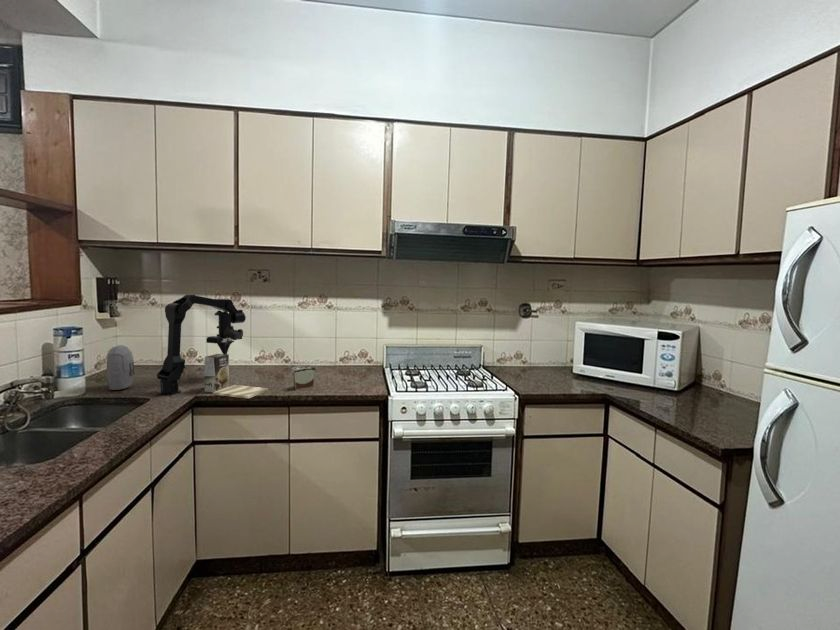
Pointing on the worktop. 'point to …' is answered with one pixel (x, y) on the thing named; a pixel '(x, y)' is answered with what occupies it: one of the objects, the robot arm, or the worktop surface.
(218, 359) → the coffee box
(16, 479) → the worktop surface
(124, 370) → the grey rounded bag
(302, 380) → the food container
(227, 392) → the cutting board
